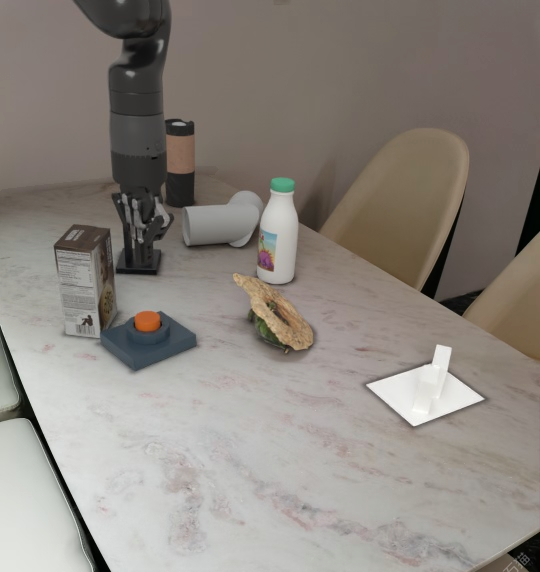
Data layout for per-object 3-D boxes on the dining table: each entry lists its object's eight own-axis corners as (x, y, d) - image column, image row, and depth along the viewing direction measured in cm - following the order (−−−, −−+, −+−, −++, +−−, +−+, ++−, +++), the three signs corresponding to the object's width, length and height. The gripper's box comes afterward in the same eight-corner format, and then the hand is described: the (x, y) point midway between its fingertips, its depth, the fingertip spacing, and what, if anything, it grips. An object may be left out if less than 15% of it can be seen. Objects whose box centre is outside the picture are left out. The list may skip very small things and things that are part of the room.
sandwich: (315, 366, 108) (339, 337, 104) (261, 379, 97) (285, 347, 93) (260, 297, 115) (280, 267, 110) (204, 302, 104) (224, 269, 100)
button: (144, 335, 94) (143, 325, 93) (130, 324, 96) (129, 315, 96) (165, 327, 97) (165, 318, 96) (151, 317, 99) (150, 308, 98)
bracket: (123, 252, 127) (118, 189, 120) (160, 254, 128) (158, 191, 120) (116, 273, 119) (110, 206, 111) (156, 274, 120) (154, 208, 112)
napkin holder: (433, 361, 100) (441, 332, 97) (485, 398, 93) (496, 368, 89) (364, 385, 93) (370, 354, 90) (414, 427, 86) (423, 395, 82)
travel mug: (170, 208, 151) (167, 126, 140) (161, 198, 157) (159, 118, 146) (198, 206, 154) (199, 125, 143) (189, 196, 160) (189, 117, 148)
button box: (134, 371, 92) (133, 349, 90) (100, 343, 98) (98, 322, 96) (196, 345, 99) (196, 325, 97) (161, 321, 105) (160, 301, 103)
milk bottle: (289, 268, 127) (298, 174, 116) (297, 285, 121) (307, 187, 109) (253, 268, 125) (259, 173, 114) (259, 285, 119) (266, 186, 108)
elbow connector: (255, 255, 128) (271, 222, 144) (247, 207, 122) (264, 179, 139) (178, 260, 132) (202, 228, 148) (166, 214, 127) (193, 186, 143)
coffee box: (83, 308, 107) (73, 222, 98) (118, 312, 106) (111, 226, 97) (64, 335, 99) (51, 244, 90) (102, 339, 99) (92, 248, 90)
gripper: (88, 137, 82) (99, 254, 92) (142, 161, 75) (148, 286, 84) (134, 131, 87) (141, 243, 96) (190, 153, 79) (191, 272, 89)
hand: (144, 263), depth 90 cm, fingers closed
